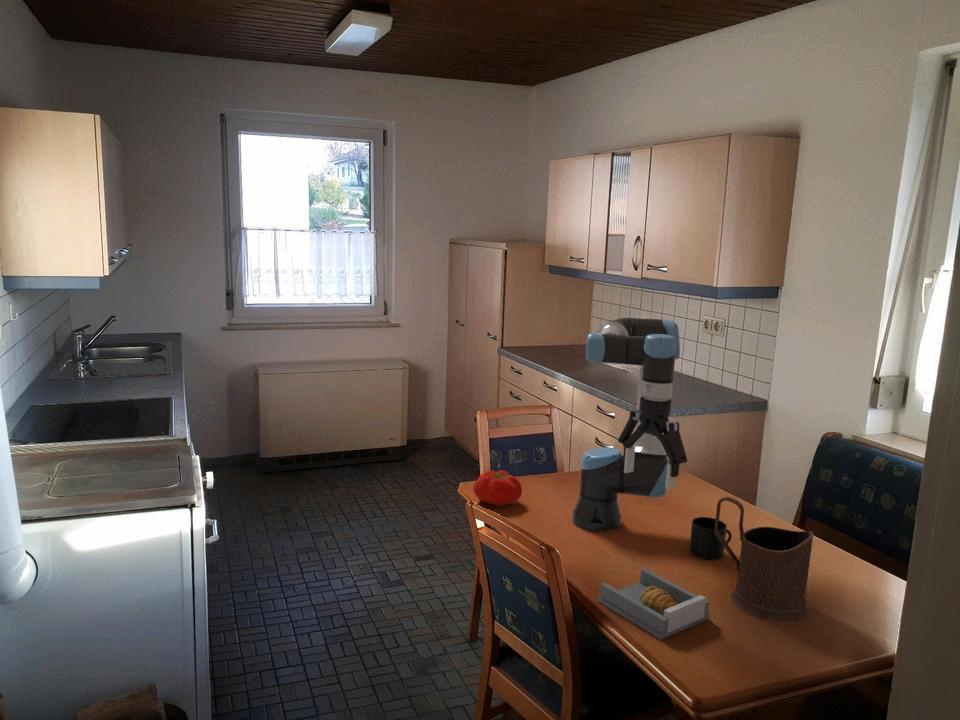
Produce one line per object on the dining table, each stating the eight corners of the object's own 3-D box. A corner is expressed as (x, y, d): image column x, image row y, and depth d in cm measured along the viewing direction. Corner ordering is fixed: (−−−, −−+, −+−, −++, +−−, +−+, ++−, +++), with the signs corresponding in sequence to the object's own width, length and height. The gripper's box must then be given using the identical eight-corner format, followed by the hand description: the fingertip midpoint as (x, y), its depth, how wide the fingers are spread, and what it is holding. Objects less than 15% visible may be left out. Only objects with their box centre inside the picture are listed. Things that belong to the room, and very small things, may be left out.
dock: (597, 601, 182) (599, 578, 180) (644, 584, 191) (646, 562, 190) (661, 639, 166) (663, 615, 165) (708, 618, 175) (711, 595, 174)
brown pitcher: (802, 632, 171) (815, 531, 167) (699, 601, 184) (708, 506, 179) (814, 600, 187) (827, 506, 182) (718, 573, 199) (727, 485, 195)
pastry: (685, 613, 176) (686, 598, 175) (665, 620, 172) (666, 605, 171) (656, 596, 183) (657, 581, 183) (636, 602, 180) (637, 588, 179)
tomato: (507, 515, 233) (509, 485, 232) (464, 503, 242) (465, 474, 240) (529, 501, 245) (530, 473, 244) (487, 490, 254) (488, 463, 252)
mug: (738, 559, 208) (741, 529, 207) (698, 561, 206) (701, 530, 204) (721, 545, 217) (724, 516, 216) (683, 546, 215) (686, 517, 214)
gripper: (608, 388, 189) (602, 468, 193) (686, 410, 169) (678, 498, 173) (628, 386, 193) (622, 463, 197) (707, 407, 173) (699, 492, 177)
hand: (648, 480), depth 185 cm, fingers open, 13 cm apart
